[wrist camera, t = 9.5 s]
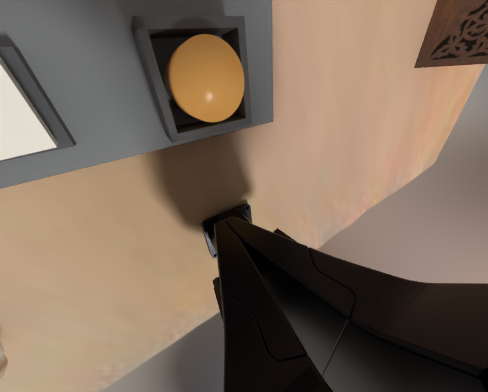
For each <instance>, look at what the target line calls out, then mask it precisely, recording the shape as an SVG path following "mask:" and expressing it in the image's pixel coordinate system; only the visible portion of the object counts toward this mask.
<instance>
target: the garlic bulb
mask: <svg viewBox="0 0 488 392" xmlns="http://www.w3.org/2000/svg"><path fill="white" fill-rule="evenodd" d="M7 362H8V361H7V357H6V356H5V355H4V350H3V346H2V343H1V342H0V382H1V380H2V378H3V376H4V374H5V371H6V368H7Z"/></svg>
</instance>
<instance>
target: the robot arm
mask: <svg viewBox="0 0 488 392" xmlns="http://www.w3.org/2000/svg"><path fill="white" fill-rule="evenodd" d="M246 207H247V208H246ZM207 223H208V224H207ZM205 224H207V225H205ZM202 227H203V230H204V233H205V237H206V240H207V243H208V246H209V250H210V253H211V256H212V258H217V260H218V270H219V277H216V278H215V279H214V280H213V284H214V291H215V294H216V298H217V302H218V305H219V309H220V312H221V316H222V319H223V324H224V388H223V390H224V391H223V392H488V284H475V283H474V284H473V283H469V284H467V283H463V284H462V283H461V284H460V283H424V282H417V281H411V280H406V279H403V278H399V277H396V276H392V275H389V274H386V273H383V272H380V271H376V270H373V269H370V268H367V267H364V266H360V265H357V264H354V263H351V262H348V261H345V260H342V259H339V258H336V257H333V256H331V255H328V254H325V253H323V252H320V251H318V250H315V249H313V248H310V247H309V248H308V247H307V246H305V245H303V244H300V243H298V242H296V241H295V240H293V239H292V238H291V237H289V236H288V235H286V234H285V233H283V232H282V231H281V230H279V229H278V228H277V229H276V230H275V231H274V233H273V232H270V231H268V230H265V229H263V228H261V227H258V226H256V225H253V224H252V218H251V208H250V205H249V204H247V203H246V204H243V205H241V206H238V207H236V208H233V209H231V210H229V211H226V212H224V213H221V214H219V215H217V216H214V217H212V218H209V219H207V220H205V221H203V222H202Z"/></svg>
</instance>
